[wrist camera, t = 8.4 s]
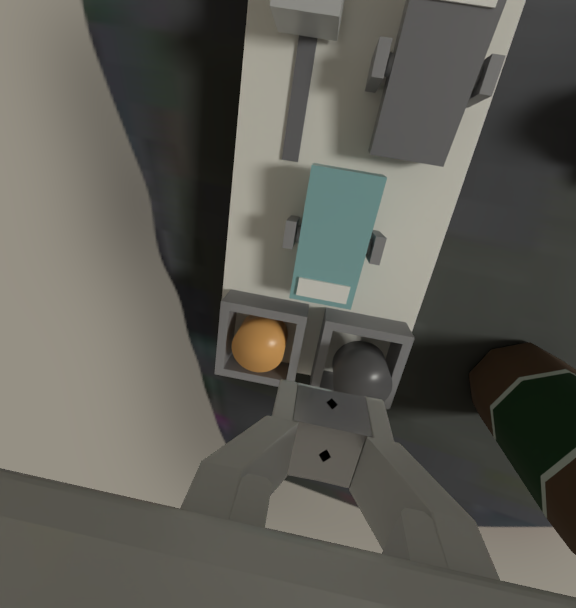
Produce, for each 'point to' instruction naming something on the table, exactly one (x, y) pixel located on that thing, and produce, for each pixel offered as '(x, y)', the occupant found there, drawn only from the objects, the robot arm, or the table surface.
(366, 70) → the console
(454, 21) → the rocker charcoal
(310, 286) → the rocker teal
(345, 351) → the button black
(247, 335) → the button orange
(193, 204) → the table surface
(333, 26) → the slide knob
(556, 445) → the beer bottle
